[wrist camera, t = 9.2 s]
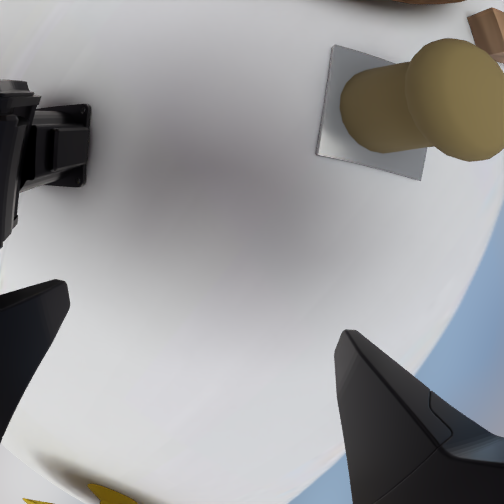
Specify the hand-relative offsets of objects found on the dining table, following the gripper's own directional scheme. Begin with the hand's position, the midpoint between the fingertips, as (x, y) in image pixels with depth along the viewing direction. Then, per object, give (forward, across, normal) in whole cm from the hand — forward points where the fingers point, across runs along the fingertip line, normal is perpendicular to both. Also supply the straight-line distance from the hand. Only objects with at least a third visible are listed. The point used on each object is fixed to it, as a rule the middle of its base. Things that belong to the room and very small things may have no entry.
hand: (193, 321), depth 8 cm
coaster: (+13, -9, -9) cm, 18 cm away
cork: (+12, -9, -9) cm, 18 cm away
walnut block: (+13, -19, -20) cm, 31 cm away
